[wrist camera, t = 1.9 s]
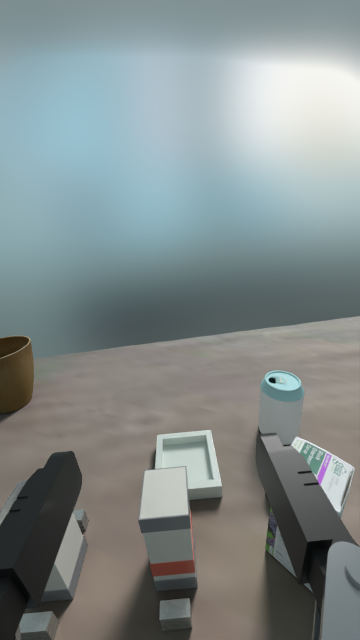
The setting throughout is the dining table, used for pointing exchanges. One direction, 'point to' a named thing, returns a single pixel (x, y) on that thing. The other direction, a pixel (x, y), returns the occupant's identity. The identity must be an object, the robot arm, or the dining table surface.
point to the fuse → (59, 557)
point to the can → (281, 405)
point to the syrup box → (332, 480)
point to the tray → (192, 461)
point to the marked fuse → (168, 528)
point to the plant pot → (15, 373)
